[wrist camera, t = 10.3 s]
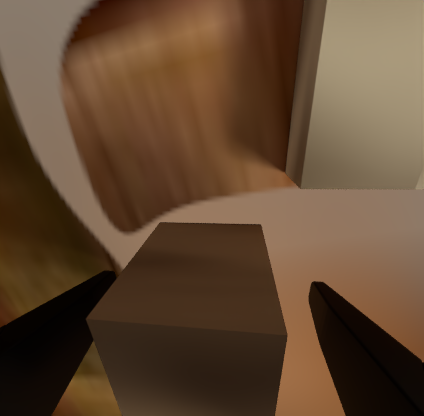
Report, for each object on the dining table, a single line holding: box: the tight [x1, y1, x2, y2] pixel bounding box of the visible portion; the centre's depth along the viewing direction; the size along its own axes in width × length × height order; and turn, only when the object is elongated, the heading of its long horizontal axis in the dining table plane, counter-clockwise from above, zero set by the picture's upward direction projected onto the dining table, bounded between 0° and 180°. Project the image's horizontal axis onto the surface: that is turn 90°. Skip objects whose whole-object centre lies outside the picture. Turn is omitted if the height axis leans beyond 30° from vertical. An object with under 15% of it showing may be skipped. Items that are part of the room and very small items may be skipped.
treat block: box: [86, 222, 287, 416], centre depth 8 cm, size 4×4×5 cm
